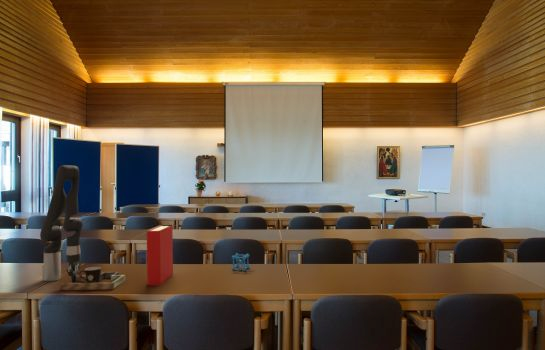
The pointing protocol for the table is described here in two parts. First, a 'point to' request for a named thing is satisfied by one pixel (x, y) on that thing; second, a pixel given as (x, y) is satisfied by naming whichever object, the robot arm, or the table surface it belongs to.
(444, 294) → the table surface
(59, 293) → the table surface
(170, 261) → the book
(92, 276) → the coffee mug
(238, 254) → the molecular structure
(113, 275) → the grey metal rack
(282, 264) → the table surface
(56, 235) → the robot arm
